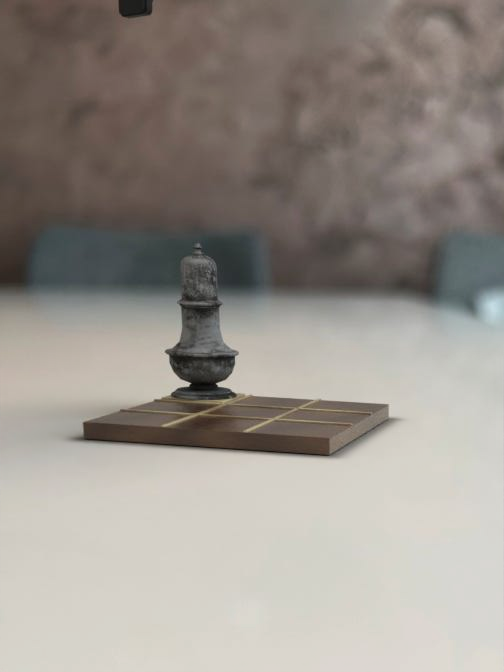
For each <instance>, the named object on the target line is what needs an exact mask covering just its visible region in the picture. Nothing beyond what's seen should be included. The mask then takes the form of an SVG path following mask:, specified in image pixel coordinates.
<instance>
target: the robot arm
mask: <svg viewBox="0 0 504 672" xmlns="http://www.w3.org/2000/svg"><path fill="white" fill-rule="evenodd" d="M153 2H154V0H118V1H117V3H118V13H119V15H120V16H121V17H122V18H126V19H135V18H141V17H149V16H151V15H152V13H153Z"/></svg>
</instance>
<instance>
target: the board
mask: <svg viewBox="0 0 504 672" xmlns="http://www.w3.org/2000/svg"><path fill="white" fill-rule="evenodd" d="M235 393H236V394H237V396H236V397H234V398H230V399H221V400H192V399H181V398H175V397H172V396H171V394H168V395H165V396H162V397H160V398H154V399H153V400H152V401H149V402H145V403H143V404H139V405H136V406H132V407H129V408H120V409H119V411H116V412H112V413H109V414H105V415H102V416H98V417H95V418H91V419H88V420H85V421H83V422H82V429H83V439H85V440H98V441H112V442H126V443H140V444H141V443H143V444H157V445H172V446H188V447H199V448H200V447H201V448H215V449H216V448H217V449H230V450H246V451H247V450H248V451H258V452H259V451H260V452H261V451H263V452H275V453H276V452H277V453H292V454H307V455H322V456H331V455H332V454H334V453H335V452H337V451H338V450H340V449H342V448H343V447H345V446H346V445H348V444H350V443H352V442H353V441H354V440H356V439H358V438H359V437H361V436H362V435H364V434H366V433H367V432H369V431H370V430H372V429H374V428H376V427H377V426H379V425H380V424H382V423H384V422H385V421H387V420H388V419H389V417H390V404H388V403H376V402H359V401H345V400H344V401H343V400H342V401H341V400H328V399H327V400H326V399H322V398H316V399H311V398H310V399H309V398H295V397H277V396H276V397H275V396H261V395H260V396H259V395H253V394H247V395H246V393H242V392H241V393H239V392H235Z"/></svg>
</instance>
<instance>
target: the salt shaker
mask: <svg viewBox="0 0 504 672" xmlns="http://www.w3.org/2000/svg"><path fill="white" fill-rule="evenodd" d="M202 248H203V247H202V246H201V243H199V241H196V242H195V244H194V246H193V247H192V249H194V252H191V254H189V255H185V256H184V257H183V258H182V259H181V261H180V263H179V269H180V270H179V273H180V274H179V275H180V289H181V290H180V291H181V292H180V293H181V294H180V295H181V299H179V300H176V304H178V305H179V306H180V311H181V314H180V315H181V333H180V337H179V341H178V342H177V343H176V344H175V345H174V346H172V348H171V347H170V348H166V349H165V350H164V353H165V354H166V355H168V358H169V359H168V360H169V361H168V362H169V365H170V367H171V369H172V372H173V374H175V375H176V376H177V377H178V378H179V380H181V381H184V382H187V383H190V384H189V385H188V386H181V387H180V386H179V387H177V388H176V389H175V390H174V391H172V392H171V393H170V395H171V396H172V397H175V398H181V399H192V400H221V399H230V398H234V397H236V396H237V394H236V393H237V392H235V391H233V390H231V388H228V387H223V386H219V385H218V383H221V382H224V381H226V380H227V379H228V378H229V377H230V376H231V375H232V374H233V371H234V369H235V367H236V356H239V354H240V352H239V351H238V350H236V349H232V348H231V347H230V346H229V345H227V344H226V343H225V342H224V338H223V336H222V331H221V323H220V322H221V321H220V320H221V319H220V307H221V306H223V305H224V303H223V302H222V301H221V300H219V296H218V295H219V294H218V293H219V291H218V290H219V289H218V271H217V270H218V267H217V263H216V262H215V260H214V259H213V258H211V256H209V255H205V253H204V252H202V251H201V250H202Z"/></svg>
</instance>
